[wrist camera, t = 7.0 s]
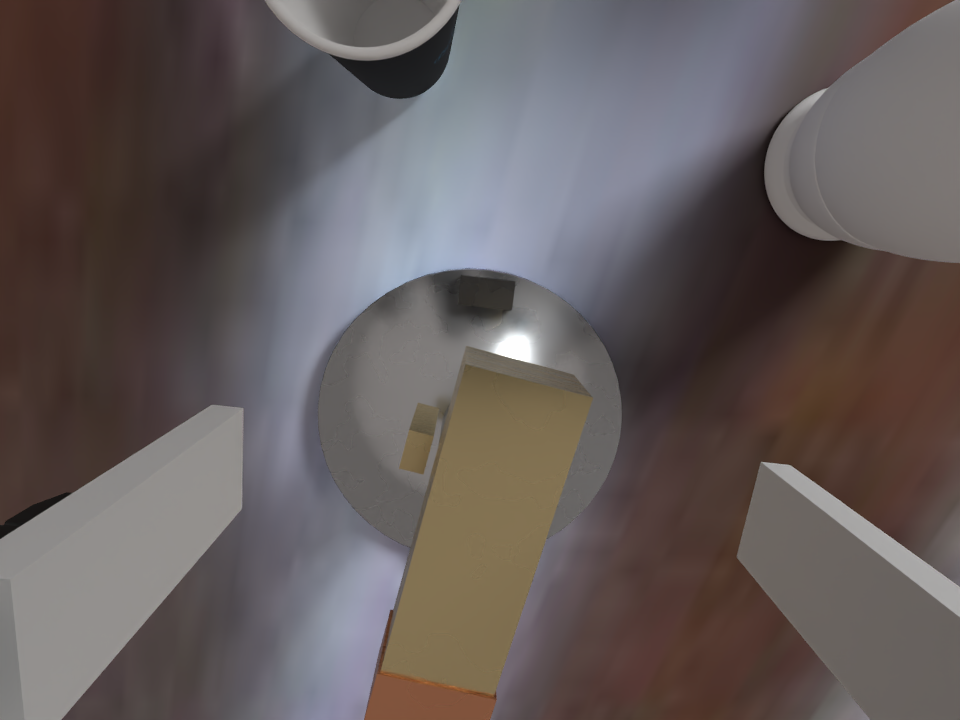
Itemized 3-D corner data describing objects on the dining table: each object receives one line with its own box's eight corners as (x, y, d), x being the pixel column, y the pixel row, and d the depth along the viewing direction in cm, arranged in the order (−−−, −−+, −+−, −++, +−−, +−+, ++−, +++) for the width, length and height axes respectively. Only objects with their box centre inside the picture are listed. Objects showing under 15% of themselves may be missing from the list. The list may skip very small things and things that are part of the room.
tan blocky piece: (386, 524, 30) (329, 714, 18) (443, 306, 28) (422, 353, 15) (495, 550, 31) (513, 753, 18) (561, 338, 28) (634, 409, 16)
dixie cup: (497, 91, 28) (515, -3, 18) (366, 153, 29) (307, 97, 18) (437, -62, 27) (416, -268, 16) (300, 6, 27) (191, -150, 17)
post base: (332, 251, 30) (281, 252, 22) (638, 286, 31) (700, 301, 23) (317, 532, 34) (268, 625, 26) (590, 557, 35) (629, 655, 26)
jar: (952, 83, 29) (1449, -85, 14) (895, 270, 31) (1277, 291, 16) (768, 51, 28) (1089, -157, 14) (723, 244, 30) (959, 241, 16)
